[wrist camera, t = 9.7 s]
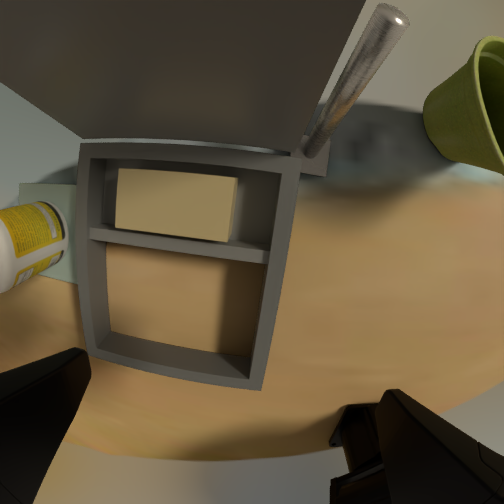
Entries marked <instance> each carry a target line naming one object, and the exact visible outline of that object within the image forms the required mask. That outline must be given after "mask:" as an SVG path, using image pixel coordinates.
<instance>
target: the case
mask: <svg viewBox="0 0 504 504" xmlns="http://www.w3.org/2000/svg"><path fill="white" fill-rule="evenodd" d="M301 164H302V159H300V158H294V157H288V156H282V155H275V154H268V153H261V152H254V151H246V150H237V149H228V148H218V147H207V146H195V145H180V144H161V143H81V144H80V152H79V161H78V172H77V186H76V210H75V242H76V266H77V280H78V291H79V301H80V309H81V317H82V324H83V331H84V337H85V343H86V348H87V353H88V355H90V356H93V357H96V358H99V359H102V360H106V361H109V362H113V363H116V364H120V365H123V366H127V367H131V368H134V369H138V370H142V371H146V372H151V373H155V374H159V375H164V376H168V377H173V378H178V379H183V380H189V381H194V382H200V383H206V384H212V385H218V386H225V387H232V388H240V389H249V390H258V391H261V388H262V384H263V379H264V374H265V370H266V365H267V360H268V355H269V350H270V345H271V340H272V335H273V330H274V325H275V320H276V315H277V310H278V304H279V299H280V294H281V288H282V283H283V277H284V271H285V266H286V260H287V254H288V248H289V242H290V236H291V230H292V224H293V218H294V211H295V205H296V198H297V192H298V185H299V178H300V171H301ZM106 241H107V242H113V243H120V244H127V245H134V246H140V247H147V248H154V249H161V250H168V251H175V252H182V253H189V254H196V255H203V256H210V257H218V258H225V259H232V260H239V261H247V262H254V263H262V264H265V270H264V276H263V282H262V289H261V295H260V301H259V308H258V314H257V320H256V326H255V332H254V338H253V345H252V351H251V357H242V356H234V355H227V354H220V353H214V352H207V351H201V350H195V349H190V348H184V347H179V346H174V345H168V344H164V343H159V342H154V341H149V340H145V339H140V338H136V337H132V336H128V335H124V334H120V333H116V332H112V331H111V329H110V319H109V308H108V293H107V273H106Z"/></svg>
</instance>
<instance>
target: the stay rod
mask: <svg viewBox="0 0 504 504" xmlns="http://www.w3.org/2000/svg"><path fill="white" fill-rule="evenodd" d="M409 25H410V21H409V19H408V17H407V16H406V15H405V14H404V13H403V12H402V11H401V10H399V9H398V8H396V7H394V6H392V5H389V4H385V3H381V4H378V5H377V7H376V9H375V10H374V12H373V14H372V16H371V18H370V20H369V22H368V24H367V26H366V28H365V30H364V31H363V34H362V35H361V37H360V39H359V41H358V43H357V45H356V47H355V49H354V51H353V52H352V54H351V56H350V58H349V60H348V62H347V64H346V66H345V68H344V70H343V72H342V74H341V75H340V77H339V79H338V81H337V83H336V85H335V87H334V89H333V91H332V93H331V95H330V97H329V99H328V100H327V102H326V104H325V106H324V108H323V110H322V112H321V114H320V116H319V118H318V120H317V122H316V124H315V126H314V127H313V129H312V131H311V133H310V135H309V136H307V135H303V136H302V139H301V141H300V143H299V145H298V147H297V149H296V152H295V153H294V152H289V157H294V158H300V159H302V164H301V171H300V173H304V174H310V175H315V176H321V177H326V173H327V166H328V159H329V151H330V144H331V140H328V139H329V138H330V136H331V135H332V134H333V132H334V131H335V129H336V128H337V126H338V125H339V124H340V122H341V121H342V119H343V118H344V117H345V115H346V114H347V112H348V111H349V109H350V108H351V107H352V105H353V104H354V102H355V101H356V100H357V98H358V97H359V95H360V94H361V92H362V91H363V89H364V88H365V87H366V85H367V84H368V83H369V81H370V80H371V78H372V77H373V76H374V74H375V73H376V71H377V70H378V68H379V67H380V65H381V64H382V63H383V61H384V60H385V58H386V57H387V56H388V54H389V53H390V51H391V50H392V49H393V47H394V46H395V44H396V43H397V42H398V40H399V39H400V37H401V36H402V35H403V33H404V32H405V30H406V29H407V28H408V26H409Z"/></svg>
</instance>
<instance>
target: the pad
mask: <svg viewBox="0 0 504 504" xmlns="http://www.w3.org/2000/svg"><path fill="white" fill-rule="evenodd" d="M76 186H77V185H70V184H40V183H20V184H19V206H20V205H24V204H28V203H33V202H38V201H48V202H51V203H53V204H54V205H56V206H57V207H58V208H59V209H60V211H61V212H62V213H63V215H64V217H65V220H66V223H67V226H68V232H69V243H68V248H67V251H66V254H65V256H64V257H63V258H62V260H61V261H59V262H58V263H57V264H55V265H53V266H51V267H49V268H47V269H46V270H44V271H42V272H40V273H38V274H39V275H43V276H47V277H51V278H54V279H58V280H62V281H66V282H70V283H74V284H78V280H77V266H76V242H75V210H76Z"/></svg>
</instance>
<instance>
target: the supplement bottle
mask: <svg viewBox="0 0 504 504" xmlns="http://www.w3.org/2000/svg"><path fill="white" fill-rule="evenodd" d="M68 243H69V232H68V226H67V223H66V220H65V217H64V215H63V213H62V212H61V211H60V209H59V208H58V207H57V206H56V205H54V204H53V203H51V202H48V201H38V202H33V203H28V204H24V205H20V206H15V207H11V208H7V209H3V210H0V293H3V292H6V291H8V290H10V289H11V288H13V287H15V286H17V285H18V284H20V283H22V282H24V281H25V280H27V279H29V278H31V277H32V276H34V275H36V274H38V273H40V272H42V271H44V270H46V269H47V268H49V267H51V266H53V265H55V264H57V263H58V262H59V261H61V260H62V258H63V257H64V256H65V254H66V251H67V248H68Z"/></svg>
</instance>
